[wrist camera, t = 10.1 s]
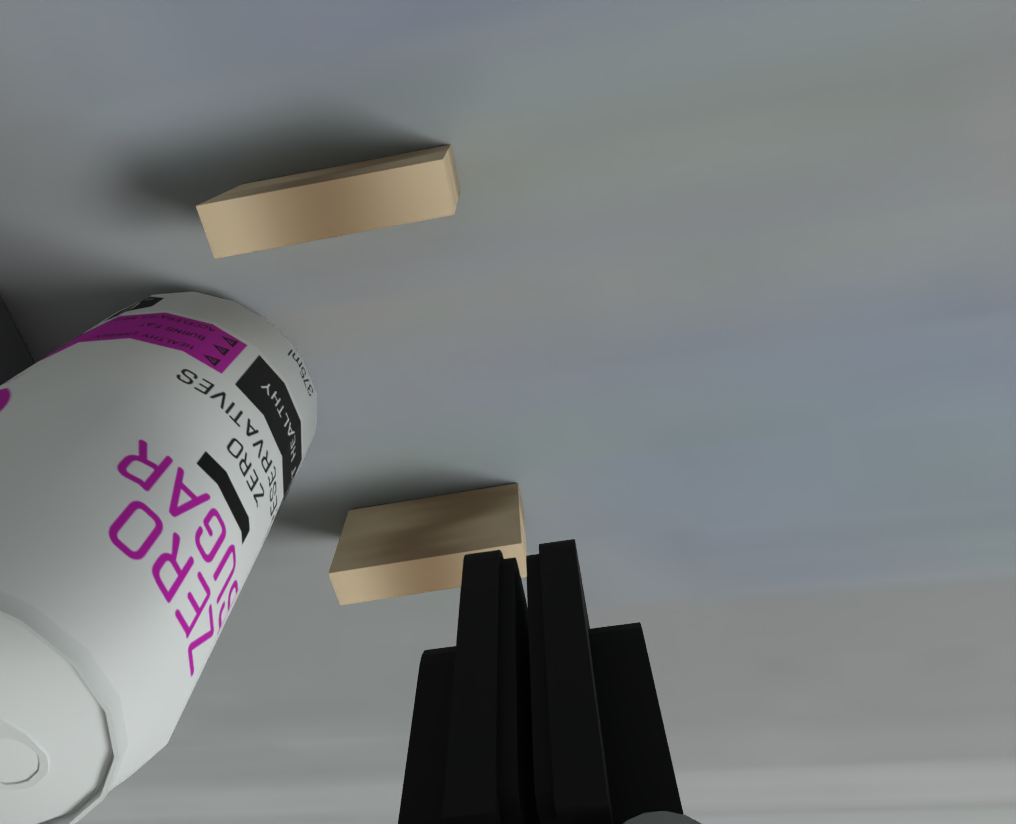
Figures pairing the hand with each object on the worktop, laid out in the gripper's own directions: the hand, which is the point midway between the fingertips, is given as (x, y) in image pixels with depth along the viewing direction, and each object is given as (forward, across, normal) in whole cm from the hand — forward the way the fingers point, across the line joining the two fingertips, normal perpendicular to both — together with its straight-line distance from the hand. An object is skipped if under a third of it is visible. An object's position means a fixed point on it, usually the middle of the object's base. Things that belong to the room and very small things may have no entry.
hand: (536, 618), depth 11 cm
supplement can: (+16, +12, +2) cm, 20 cm away
